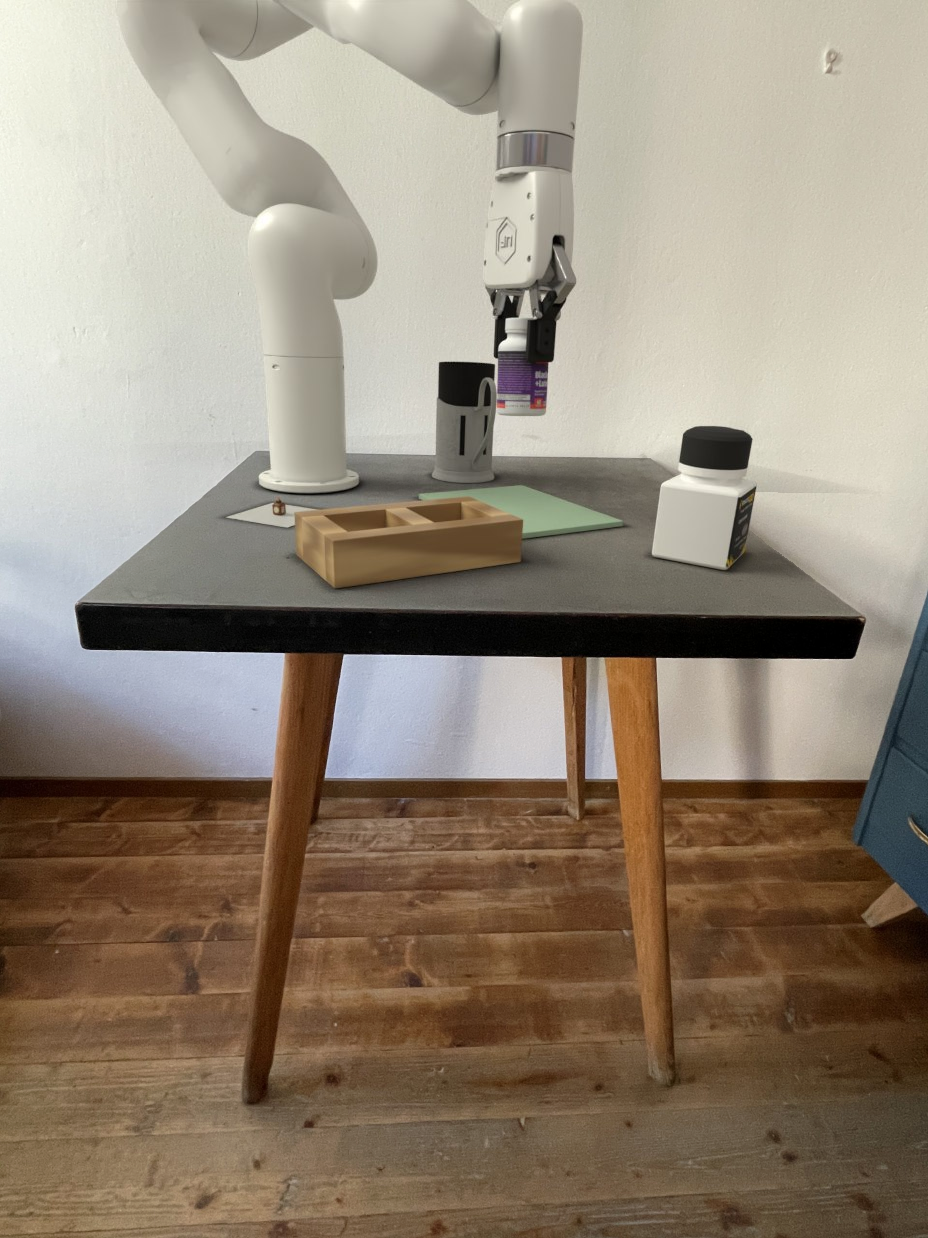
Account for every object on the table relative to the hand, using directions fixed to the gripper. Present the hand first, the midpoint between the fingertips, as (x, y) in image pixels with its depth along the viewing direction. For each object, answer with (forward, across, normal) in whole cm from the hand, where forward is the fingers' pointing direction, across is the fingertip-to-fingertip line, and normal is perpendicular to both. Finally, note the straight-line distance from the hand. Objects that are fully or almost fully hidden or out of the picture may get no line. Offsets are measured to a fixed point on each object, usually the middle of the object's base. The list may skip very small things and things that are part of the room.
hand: (522, 358), depth 78 cm
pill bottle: (+6, 0, 0) cm, 6 cm away
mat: (+17, 0, 0) cm, 17 cm away
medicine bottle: (+17, +21, +8) cm, 28 cm away
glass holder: (+17, -18, +4) cm, 25 cm away
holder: (+17, +11, -19) cm, 27 cm away
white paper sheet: (+17, -9, -25) cm, 31 cm away
